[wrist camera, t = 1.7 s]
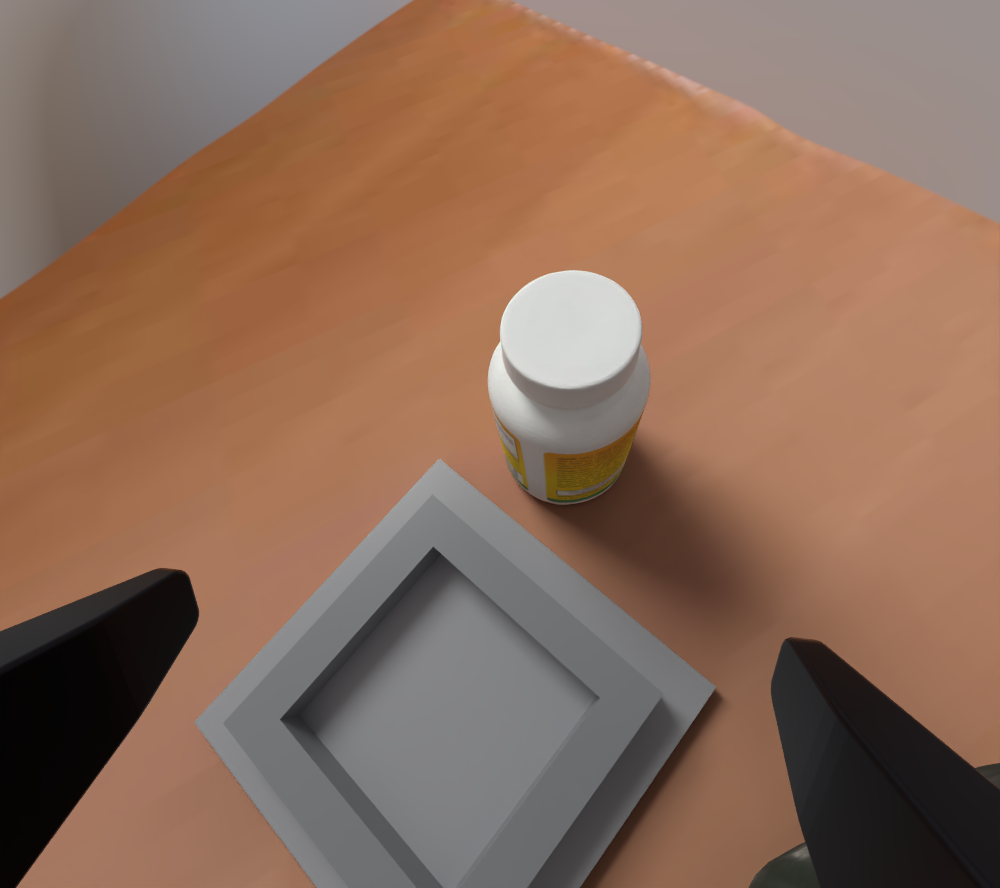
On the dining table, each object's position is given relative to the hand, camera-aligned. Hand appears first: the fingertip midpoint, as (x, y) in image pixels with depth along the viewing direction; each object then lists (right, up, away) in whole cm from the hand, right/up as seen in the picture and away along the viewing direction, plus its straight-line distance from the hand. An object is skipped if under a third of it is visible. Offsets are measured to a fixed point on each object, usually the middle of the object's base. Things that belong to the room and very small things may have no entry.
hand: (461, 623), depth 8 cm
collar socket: (-1, -7, +12) cm, 14 cm away
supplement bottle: (+4, +2, +16) cm, 16 cm away
